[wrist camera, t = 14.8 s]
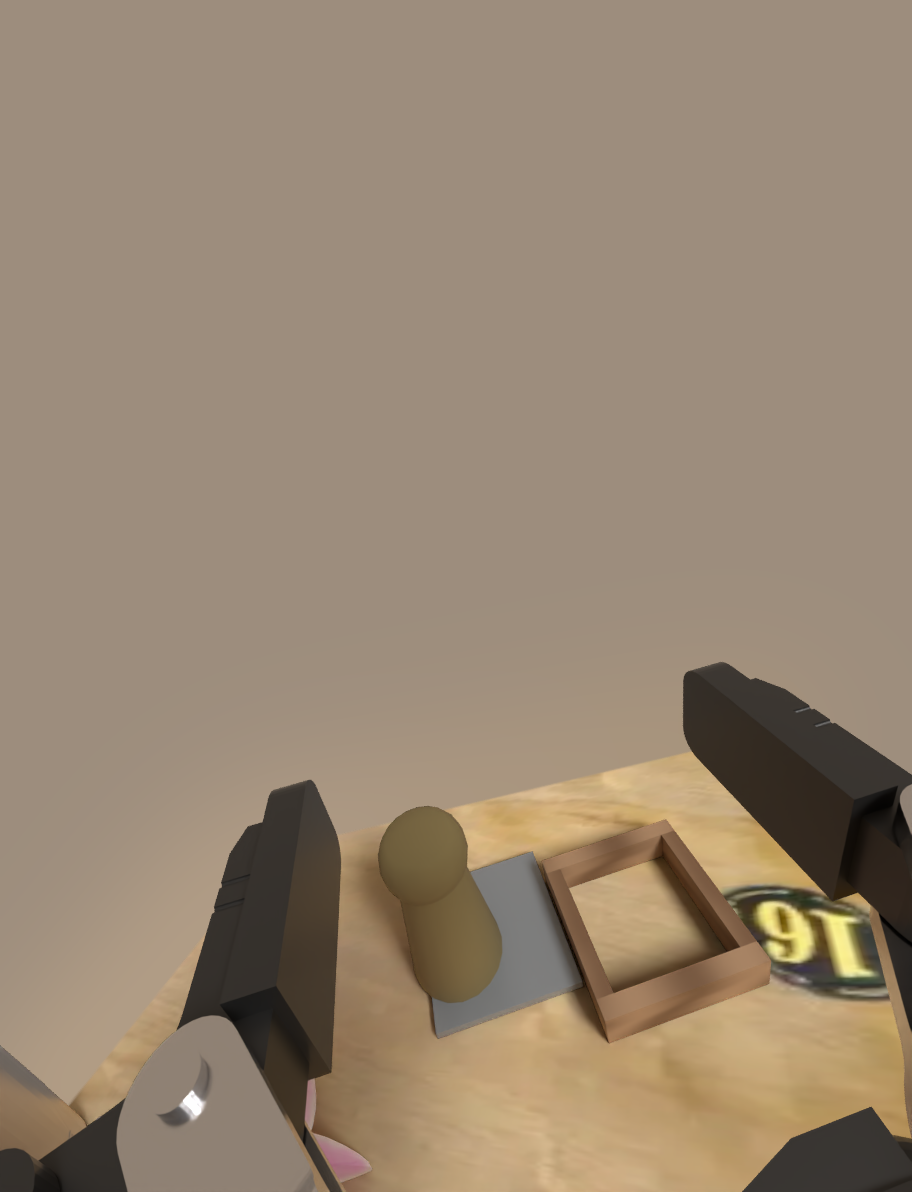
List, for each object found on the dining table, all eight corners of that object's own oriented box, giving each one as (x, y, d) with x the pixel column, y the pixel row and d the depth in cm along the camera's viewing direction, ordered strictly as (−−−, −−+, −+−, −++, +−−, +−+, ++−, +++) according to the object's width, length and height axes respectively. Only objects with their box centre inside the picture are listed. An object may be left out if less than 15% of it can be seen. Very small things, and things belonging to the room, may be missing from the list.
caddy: (608, 1043, 25) (605, 1021, 24) (545, 880, 34) (541, 860, 33) (769, 983, 26) (770, 960, 25) (667, 840, 35) (666, 819, 34)
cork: (476, 1023, 27) (431, 901, 23) (395, 976, 30) (342, 860, 26) (517, 921, 32) (485, 804, 27) (442, 889, 35) (403, 780, 30)
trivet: (438, 1038, 27) (436, 1034, 27) (421, 893, 35) (419, 888, 35) (583, 986, 28) (582, 981, 28) (533, 855, 36) (532, 851, 36)
